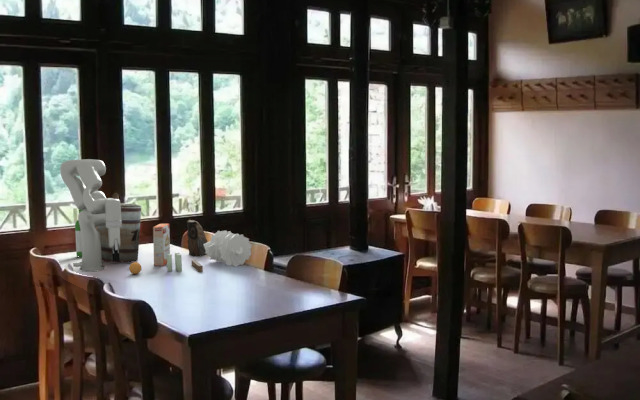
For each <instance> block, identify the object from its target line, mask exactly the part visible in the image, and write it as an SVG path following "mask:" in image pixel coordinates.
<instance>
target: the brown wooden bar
mask: <svg viewBox="0 0 640 400" xmlns="http://www.w3.org/2000/svg"><path fill="white" fill-rule="evenodd" d="M190 264H191V267H192V268H194V269H195V270H196V271H197V272H198V273H202V272H203V271H204V269H203V267H204V266H203V265H202V264H201V263H200V262H199V261H197V260H196V259H191V263H190Z"/></svg>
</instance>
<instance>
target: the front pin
mask: <svg viewBox="0 0 640 400" xmlns="http://www.w3.org/2000/svg"><path fill="white" fill-rule="evenodd" d="M172 256H173V255H172V254H171V253H170V254H167V264H166V268H167V270H166V271H167V272H173V259H172Z"/></svg>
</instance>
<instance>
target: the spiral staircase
mask: <svg viewBox="0 0 640 400" xmlns="http://www.w3.org/2000/svg"><path fill="white" fill-rule="evenodd" d="M203 245H204V248H205V251H206V252H205V253H206V254H207V255H206V256H208V257H209V258H210V260H214V261H216V262H218V261H219V263H222V264H225V265H227V264H228V265H227V266H233V267H234V266H235V267H238V266H239V265H241V266H243V265H244V263H245V262H246V260H250V256H252V251H251V250H252V249H251V248H252V247H253V245H252V244H251V242H250V238H248V237H247V236H246V237H245V236H244V234H239V233H232V232H231V230H230V231H227V230H221V231H220V230H217V232H215V233H214V234H212V235H211V238H210V241H208V242H207V243H205V244H203Z"/></svg>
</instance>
